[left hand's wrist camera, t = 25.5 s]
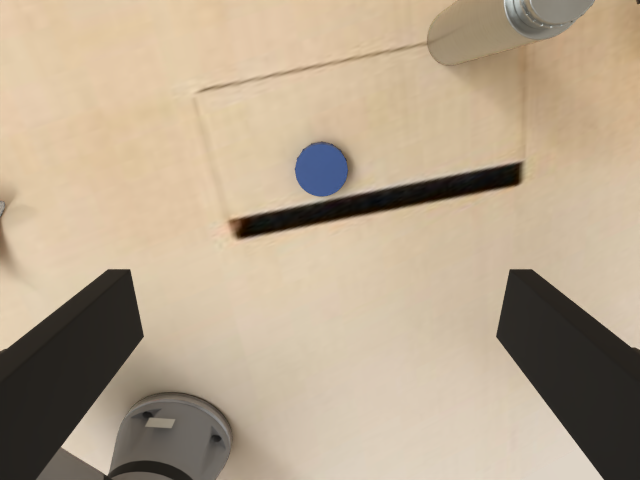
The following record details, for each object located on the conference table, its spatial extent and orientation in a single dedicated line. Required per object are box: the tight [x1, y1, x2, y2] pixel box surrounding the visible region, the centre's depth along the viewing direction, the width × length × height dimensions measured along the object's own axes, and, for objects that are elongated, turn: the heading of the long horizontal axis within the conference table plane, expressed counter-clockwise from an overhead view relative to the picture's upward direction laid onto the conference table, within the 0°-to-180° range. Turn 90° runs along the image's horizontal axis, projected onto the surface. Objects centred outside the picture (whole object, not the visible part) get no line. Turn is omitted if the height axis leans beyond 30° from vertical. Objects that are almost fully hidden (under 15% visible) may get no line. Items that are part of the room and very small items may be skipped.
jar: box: [427, 0, 595, 65], centre depth 26 cm, size 5×5×17 cm
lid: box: [295, 142, 348, 196], centre depth 38 cm, size 5×5×2 cm
